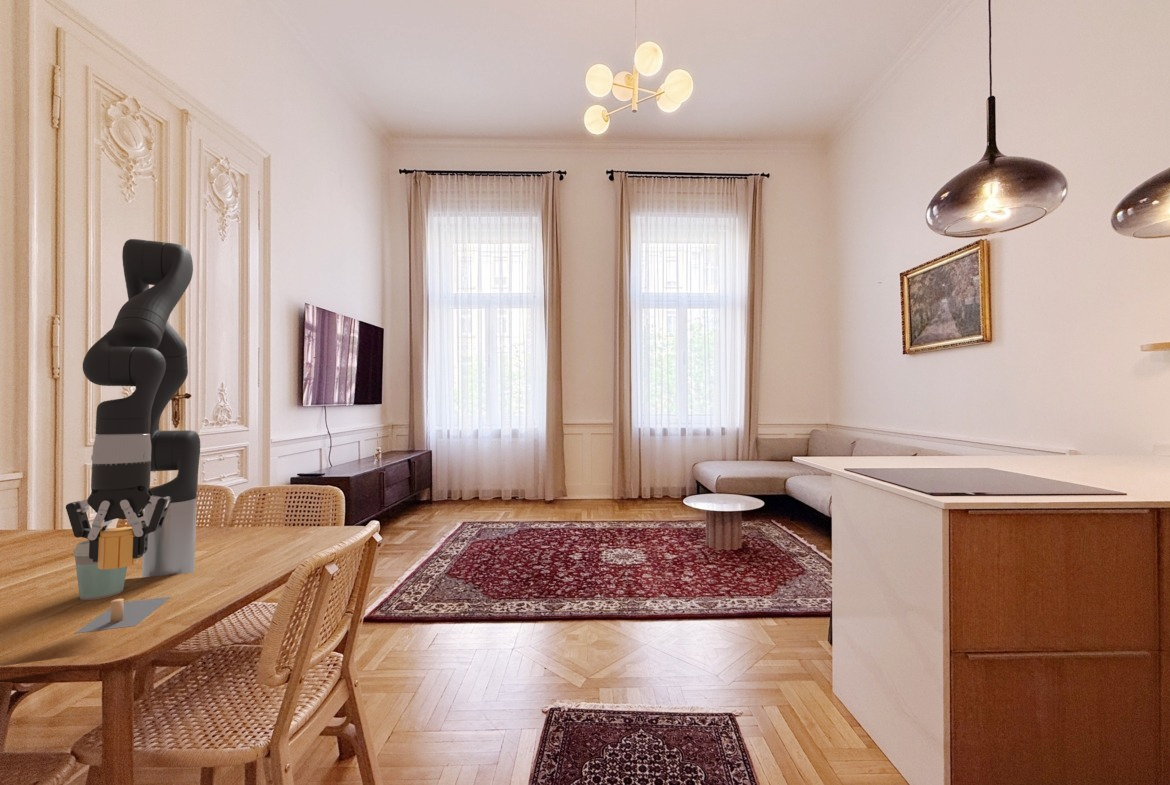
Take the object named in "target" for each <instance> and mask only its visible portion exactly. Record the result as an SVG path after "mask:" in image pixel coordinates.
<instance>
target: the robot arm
mask: <svg viewBox="0 0 1170 785" xmlns="http://www.w3.org/2000/svg"><path fill="white" fill-rule="evenodd" d="M121 254H122V257H121V258H122V267H123V276H124V280H125V281H124V282H125V287H126V294H127V299H128V300H127V301H126V302H125V303H124V304H122V306H121V308H120V309H119V311H118V313H117V316H116V317H115V320H114V322H113V326H112V328H111V329H110V330H108V331H107V332H106V333H105V334H104V335H103V336H102V337H101V338H100V339H98V340H97V341H96V342H95V343H94V344H93V345H92V346H91V347H90V348H89V349H88V351H87V353H86V354H85V356H84V358H83V361H82V370H83V371H82V372H83V374H84V377H86V379H87V380H88V381H89V382H91V383H93V384H95V385H98V386H102V387H103V386H104V387H135V389H134V391H133V392H132V393H131V394H130V395H129V396H127V397H122V398H116V399H109V400H104V401H101V402H99V403H98V404H97V407H96V413H95V414H96V416H95V436H94V442H93V446H92V454H91V476H90V477H91V478H90V480H91V481H90V488H91V490H90V491H91V493H90V494H89V496H88V497H87V498H86V499H84V500H78V501H73V502H70V503H67V504H66V505H65V509H66V513H67V517H68V520H69V522H70V526H71V529H72V534H73V536H74V537H75V538H82V539H87V540H89V558H90V559H93V562H98V548H99V537H100V532H101V531H104V530H108V527H109V526H110V524H111V523H112V521H113V520H116V519H118V520H126V521H127V523H128V525H129V527H132V529H133V532H134V534H135V536H136V537H134V538H133V559H137V558H138V559H140V558H142V566H141V567H142V568H141V569H142V570H141V578H151V577H153V578H154V577H164V576H173V575H179V574H180V575H181V574H192V573H195V567H196V566H195V565H196V564H195V561H196V539H197V538H196V533H197V532H196V530H197V501H198V500H197V499H198V498H197V497H198V496H197V494H198V479H199V465H200V456H201V439H200V436H199V433H198V432H196V431H194V430H186V429H185V430H182V429H181V430H160V422H161V421H160V420H161V417H162V414H163V412H164V410H165V409H166V407H167V405H168V404H169V403H170V401H171V400H172V398H173V397H174V396H175V395H176V394H177V392H178V390H180V389H181V387H182V386H183V384H184V382H185V381H186V380H187V377H188V374H189V366H188V365H189V363H188V349H187V345H186V342H184V340H183V338H182V337H181V335H180V334H179V333H178V332H177V331H176V329H174V328H173V326H172V325H171V324H170V323H169V321H168V320H169V318H170V316H171V314H172V312H173V311H174V308H175V307H176V306H177V305H178V303H179V301H180V300H181V298H182V297H183V295H184V293H185V292H186V290H188V288H189V286H190V283H191V281H192V278H193V272H194V264H193V263H194V262H193V257H192V255H191V252H190V250H189V249H188V248H187V247H186V246H184V245H181V244H179V243H172V242H164V241H158V240H157V241H156V240H145V239H137V238H129V239H127V240H126V241H125V242H124V243H123V246H122V253H121ZM150 285H151V287H150ZM163 471H167V472H168V471H177V474H176V477H175V478H173V479H171V480H170V481H167V482H166V483H163V484H160V485H156V486H154V487H151V473H152V472H163ZM89 507H90V508H91V509H93V511H94V512H95V513H96V514H95V516H94V519H93V521H92V523H91V524H90V521H89V518H88V514H87V512H88V511H89Z"/></svg>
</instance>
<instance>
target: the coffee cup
mask: <svg viewBox="0 0 1170 785" xmlns="http://www.w3.org/2000/svg"><path fill="white" fill-rule="evenodd" d="M72 556H74V558H75V568H76V576H77V577H76V578H77V585H78V593H79V594H78V595H79V599H80V600H82V601H92V600H99V599H105V598H109V597H113V596H116V595H118V594H121V593H123V592H124V588H125V587H124V586H125V581H126V576H127V570H128V566H126V567H122V568H116V569H105V570H104V569H98V562H93V559H90V558H89V540H88V539H87V540H83V541H79V542H78V543H77V544H76V546H75V548H74V549H73V553H72Z"/></svg>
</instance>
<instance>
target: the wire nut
mask: <svg viewBox="0 0 1170 785" xmlns="http://www.w3.org/2000/svg"><path fill="white" fill-rule="evenodd" d="M134 537H136V536H135V534H134V532H133V529H132V527H131V526H122V527H114V528H109V529H108V528H107V530H104V531H101V532H100V537H99V548H98V569H104V570H105V569H116V568H122V567H126V566H127V567H130V566H131V567H132V566H134V565H135V564H137V563H139V558H137V559H133V538H134Z"/></svg>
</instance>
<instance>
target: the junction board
mask: <svg viewBox="0 0 1170 785" xmlns="http://www.w3.org/2000/svg"><path fill="white" fill-rule="evenodd" d="M170 599H171V596H167V597H157V598H149V599H148V598H146V599H140V600H139V599H138V600H130V601H124V600H125V599H124V598H115V599H113V600H111V601H110V608H109V609H107V610H106V611H104V612H103V613H102V614H100V615H99V616H97V617H95V618H94V619H93V620H91V621H90V622H89V623H87V624H86V625H84V626H83V627H81V628H80V629H78V630H77V631H76V632H74V634H81V633H89V632H90V633H91V632H96V631H106V630H113V629H122V628H129V627H136V626H138V625H139V624H140V623H141V622H143V621H144V620H145V619H146V618H148V617H149V616H150V615H151V614H152V613H153V612H155V611H156V610H157V609H159V608H160V606H162V605H163V604H164V603H166V602H167V601H168V600H170Z"/></svg>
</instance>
